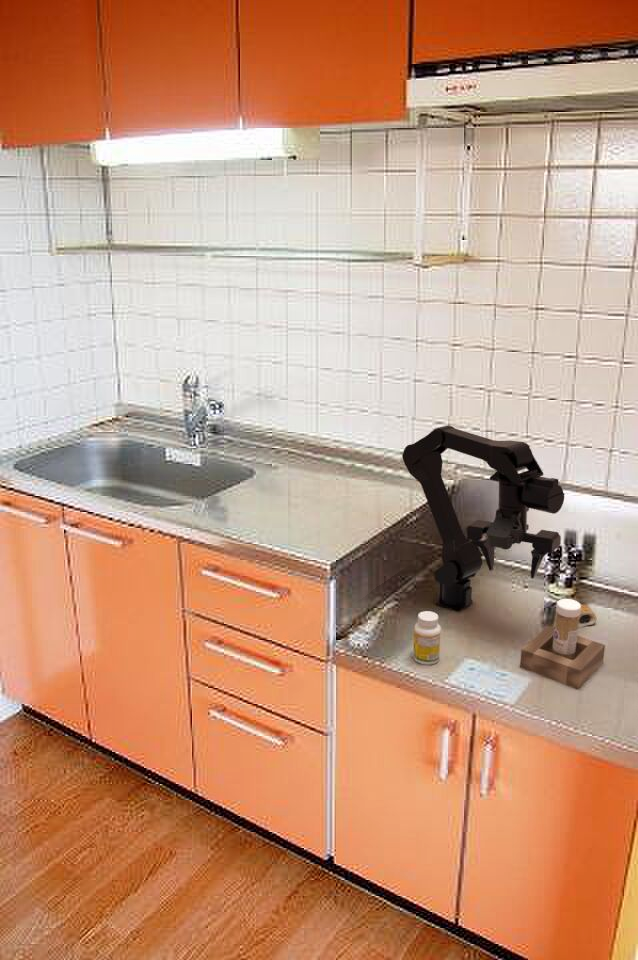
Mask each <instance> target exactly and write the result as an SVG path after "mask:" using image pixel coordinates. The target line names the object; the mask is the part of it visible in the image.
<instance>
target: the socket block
mask: <svg viewBox="0 0 638 960" xmlns="http://www.w3.org/2000/svg"><path fill="white" fill-rule="evenodd" d="M554 630H555V627H553V626H549V625H547V626H546V627H545V628H544V629H542V630H541V632H539V633H538V634H537V635H536V636H534V638H532V639H531V640H530V641H529V642H528V643H527V644H526V645H525V646H523V647H522V648H521V649H520V650H521V651H520V661H519V662H520V663H519V668H521V669H524V670H527V671H529V672H531V673H533V674H534V673H535V674H537V675H540V676H542V677H545V678H548V679H550V680H552V681H553V680H554V681H556V682H559V683H562V684H565V685H566V686H569V687H571V688H574V689H577V690H579V689H580V688H581V687H582V686H583V685H584V684H585V683H586V682H587V681H588V679H590V678H591V676H592V675H593V674H594V673H595V672H596V671H597V670H598V668H599V667H600V666H602V664H603V663H604V657H605V649H606V645H605V644H603V643H601V642H598V641H594V640H590V639H589V638H586V637H583V636H579V635H577V642H576V650H575V655H574V660H570V659H567V658H565V657H562V656H559V655H556V654H553V653H552V650H553V638H554Z"/></svg>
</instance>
